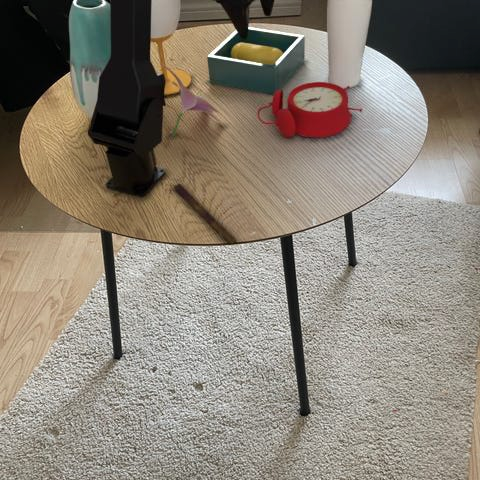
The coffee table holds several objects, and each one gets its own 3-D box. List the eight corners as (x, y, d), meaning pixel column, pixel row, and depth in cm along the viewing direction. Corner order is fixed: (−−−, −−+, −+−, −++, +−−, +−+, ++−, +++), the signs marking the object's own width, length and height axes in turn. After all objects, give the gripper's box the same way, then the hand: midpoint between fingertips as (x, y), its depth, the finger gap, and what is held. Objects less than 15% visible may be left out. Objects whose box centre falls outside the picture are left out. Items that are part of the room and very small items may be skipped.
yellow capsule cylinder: (279, 78, 102) (278, 56, 99) (227, 69, 105) (225, 47, 102) (288, 67, 104) (288, 45, 101) (237, 59, 108) (236, 36, 104)
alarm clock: (368, 110, 88) (270, 103, 84) (355, 148, 92) (262, 142, 89) (349, 77, 94) (257, 69, 91) (338, 114, 99) (250, 107, 96)
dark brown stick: (179, 185, 85) (173, 188, 84) (179, 183, 84) (173, 185, 84) (236, 242, 76) (230, 245, 76) (236, 239, 76) (229, 242, 75)
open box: (275, 95, 100) (274, 68, 96) (209, 82, 104) (206, 56, 100) (304, 61, 107) (304, 35, 103) (241, 51, 111) (240, 25, 108)
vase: (165, 106, 99) (145, -9, 85) (118, 141, 93) (89, 22, 79) (113, 90, 104) (87, -22, 90) (66, 122, 98) (30, 7, 84)
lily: (222, 156, 91) (241, 92, 86) (146, 135, 87) (161, 67, 83) (213, 137, 101) (229, 79, 97) (144, 118, 98) (158, 57, 93)
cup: (202, 80, 104) (190, -20, 92) (163, 101, 100) (146, 0, 88) (168, 65, 109) (152, -32, 97) (129, 85, 105) (108, -13, 93)
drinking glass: (316, 79, 102) (319, -15, 91) (350, 69, 104) (357, -25, 93) (336, 96, 98) (343, -1, 87) (371, 85, 100) (382, -11, 88)
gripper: (275, -56, 80) (277, 59, 92) (326, -97, 90) (321, 10, 102) (203, -63, 84) (213, 48, 95) (259, -102, 94) (263, 2, 106)
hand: (256, 26), depth 100 cm, fingers open, 9 cm apart
